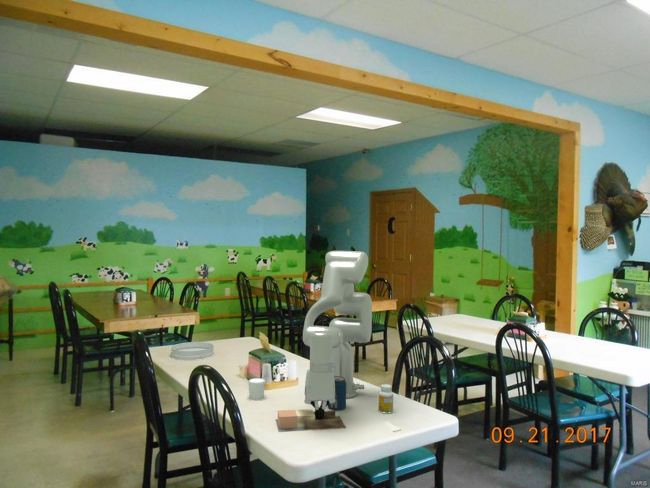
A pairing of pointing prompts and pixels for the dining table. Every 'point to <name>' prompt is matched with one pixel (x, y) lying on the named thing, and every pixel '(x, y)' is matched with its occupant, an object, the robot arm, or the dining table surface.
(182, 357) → the dish
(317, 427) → the chute
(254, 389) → the shot glass
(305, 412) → the beech block
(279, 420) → the terracotta block
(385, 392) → the supplement bottle
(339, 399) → the soda can
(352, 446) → the dining table surface
